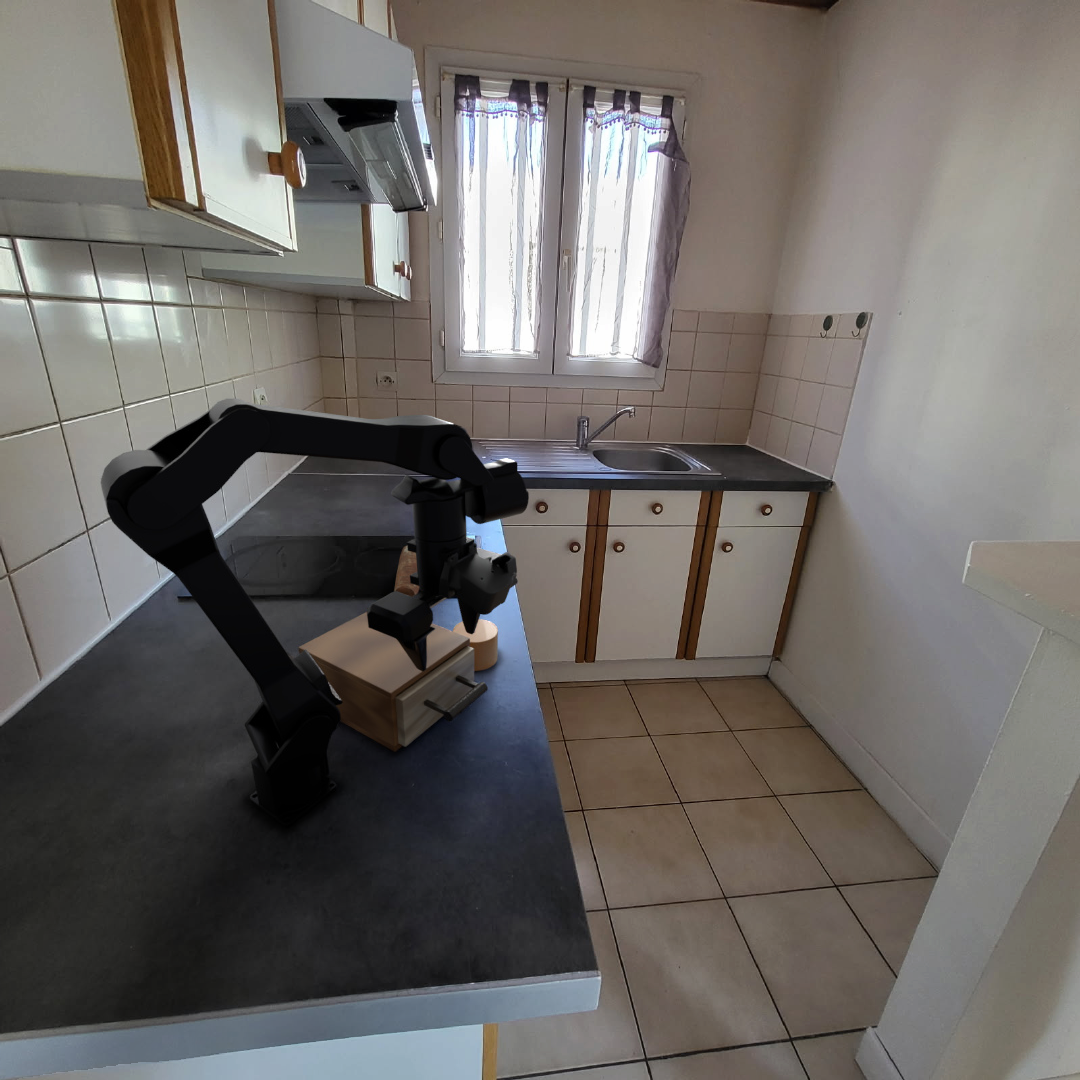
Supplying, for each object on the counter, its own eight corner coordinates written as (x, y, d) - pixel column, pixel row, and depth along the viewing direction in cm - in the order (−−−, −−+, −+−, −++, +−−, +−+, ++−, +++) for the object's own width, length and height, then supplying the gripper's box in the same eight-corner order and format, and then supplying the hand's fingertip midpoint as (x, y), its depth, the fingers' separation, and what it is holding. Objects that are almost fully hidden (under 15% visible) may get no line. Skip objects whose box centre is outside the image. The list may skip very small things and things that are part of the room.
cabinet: (470, 690, 79) (470, 638, 76) (394, 752, 67) (390, 693, 64) (386, 652, 87) (382, 603, 84) (305, 701, 75) (297, 647, 72)
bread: (433, 564, 117) (432, 539, 115) (418, 608, 100) (417, 580, 98) (403, 563, 117) (401, 539, 115) (382, 608, 99) (381, 579, 97)
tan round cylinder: (479, 676, 82) (479, 647, 80) (444, 661, 85) (443, 632, 83) (506, 655, 87) (506, 627, 86) (471, 641, 91) (471, 614, 89)
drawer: (502, 702, 75) (503, 660, 73) (435, 763, 65) (433, 716, 62) (393, 653, 85) (391, 614, 82) (319, 700, 74) (314, 656, 72)
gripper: (442, 583, 51) (450, 719, 57) (545, 521, 66) (542, 634, 72) (356, 555, 56) (371, 682, 62) (469, 504, 71) (473, 610, 77)
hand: (447, 650), depth 68 cm, fingers open, 9 cm apart
